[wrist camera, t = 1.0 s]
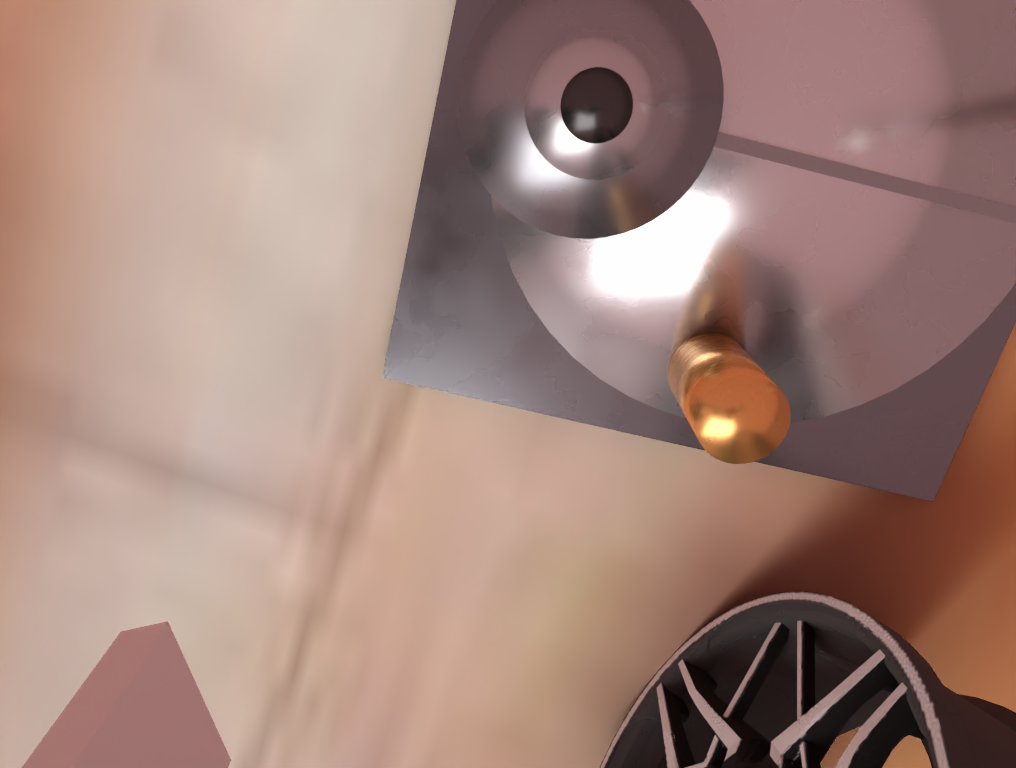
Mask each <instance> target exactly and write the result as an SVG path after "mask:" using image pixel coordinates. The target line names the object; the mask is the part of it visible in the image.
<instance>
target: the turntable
mask: <svg viewBox="0 0 1016 768" xmlns="http://www.w3.org/2000/svg"><path fill="white" fill-rule="evenodd" d="M690 1H691V3H692V4H693V5H694V7H695V8H696V9H697V10H698V12H699V13H700V15H701V16H702V18H703V20H704V21H705V23H706V25H707V27H708V28H709V30H710V33H711V35H712V38H713V40H714V42H715V45H716V48H717V51H718V55H719V59H720V63H721V68H722V76H723V85H724V102H723V111H722V119H721V124H720V128H719V132H718V136H717V139H716V142H715V145H714V147H713V150H712V153H711V155H710V157H709V159H708V161H707V163H706V165H705V167H704V169H703V170H702V172H701V173H700V175H699V176H698V178H697V179H696V181H695V182H694V184H693V185H692V186H691V187H690V189H689V190H688V191H687V192H686V193H685V194H684V195H683V197H682V198H681V199H680V200H679V201H677V202H676V203H675V204H674V205H673V206H672V207H671V208H670V209H668V210H667V211H666V212H664V213H663V214H661V215H660V216H659V217H657V218H656V219H654V220H653V221H651V222H649V223H647V224H645V225H643V226H641V227H639V228H637V229H634V230H631V231H628V232H626V233H623V234H619V235H615V236H610V237H605V238H595V239H577V238H568V237H562V236H557V235H553V234H550V233H547V232H544V231H541V230H539V229H536V228H534V227H532V226H530V225H528V224H526V223H524V222H523V221H521V220H520V219H518V218H516V217H515V216H513V215H512V214H511V213H509V212H508V211H507V210H506V209H505V208H503V207H502V206H501V205H500V204H499V203H498V202H497V201H496V200H495V199H494V198H493V197H492V196H491V201H492V206H493V210H494V214H495V219H496V223H497V227H498V232H499V236H500V240H501V242H502V245H503V248H504V251H505V253H506V256H507V259H508V261H509V264H510V267H511V269H512V272H513V274H514V276H515V278H516V280H517V282H518V284H519V285H520V287H521V289H522V291H523V293H524V295H525V297H526V299H527V300H528V302H529V304H530V306H531V307H532V308H533V310H534V311H535V313H536V314H537V315H538V317H539V318H540V320H541V321H542V322H543V324H544V325H545V327H546V328H547V329H548V331H549V332H550V333H551V334H552V335H553V337H554V338H555V339H556V340H557V341H558V342H559V343H560V344H561V345H562V346H563V347H564V348H565V349H566V350H567V351H568V352H569V353H570V355H571V356H572V357H573V358H575V359H576V360H577V361H578V362H579V363H581V364H582V365H583V366H584V367H586V368H587V369H588V370H589V371H591V372H592V373H593V374H594V375H595V376H597V377H598V378H599V379H601V380H602V381H604V382H606V383H607V384H609V385H611V386H612V387H614V388H615V389H617V390H619V391H620V392H622V393H624V394H625V395H627V396H629V397H631V398H633V399H636V400H638V401H640V402H642V403H645V404H647V405H649V406H651V407H654V408H656V409H658V410H661V411H665V412H668V413H671V414H675V415H678V416H682V417H685V418H687V420H688V422H689V424H690V425H691V427H692V429H693V431H694V433H695V435H696V436H697V438H698V440H699V442H700V444H701V445H702V447H703V448H704V449H705V450H706V451H707V452H708V453H709V454H710V455H711V456H713V457H715V458H716V459H718V460H721V461H724V462H727V463H733V464H744V463H750V462H754V461H757V460H759V459H761V458H764V457H765V456H767V455H769V454H770V453H771V452H773V451H774V450H775V449H776V448H777V447H778V446H779V445H780V443H781V442H782V441H783V439H784V438H785V436H786V434H787V431H788V428H789V425H790V423H795V422H800V421H805V420H810V419H815V418H820V417H825V416H829V415H832V414H835V413H838V412H841V411H844V410H847V409H850V408H853V407H856V406H859V405H862V404H864V403H866V402H869V401H871V400H873V399H875V398H877V397H879V396H882V395H884V394H886V393H888V392H890V391H893V390H895V389H896V388H898V387H900V386H901V385H903V384H905V383H906V382H908V381H910V380H911V379H913V378H915V377H916V376H918V375H920V374H921V373H923V372H925V371H926V370H928V369H929V368H930V367H932V366H933V365H934V364H936V363H937V362H938V361H940V360H941V359H942V358H943V357H945V356H946V355H947V354H949V353H950V352H951V351H953V350H954V349H955V348H957V347H958V346H959V345H960V344H961V343H962V342H963V341H964V340H965V339H966V338H967V337H968V336H969V335H970V334H971V333H972V332H973V331H975V330H976V329H977V328H978V327H979V326H980V325H981V324H982V323H983V322H984V321H985V320H986V319H987V317H988V316H989V315H990V314H991V313H992V312H993V310H994V309H995V308H996V307H997V306H998V305H999V303H1000V302H1001V301H1002V300H1003V299H1004V297H1005V296H1006V295H1007V294H1008V293H1009V291H1010V290H1011V289H1012V287H1013V286H1014V284H1015V283H1016V0H690Z"/></svg>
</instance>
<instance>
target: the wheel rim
mask: <svg viewBox="0 0 1016 768" xmlns="http://www.w3.org/2000/svg"><path fill="white" fill-rule="evenodd" d="M859 726H861V727H860V729H859V730H858V732H857V733H856V735H855V736H854V738H853V739H852V741H851V742H850V744H849V745H848V747H847V748H846V750H845V751H844V753H843V754H842V756H841V757H840V759H839V761H838V763H837V765H836V767H835V768H882V767H883V765H884V763H885V761H886V760H887V758H888V756H889V755H890V753H891V751H892V750H893V749H894V747H895V746H896V745H897V744H898V743H899V742H900V741H901V740H902V739H903V738H904V737H906V736H908V735H911V736H914V737H917V738H920V739H921V740H922V743H923V745H924V747H925V749H926V752H927V754H928V756H929V758H930V762H931V766H932V768H1016V713H1015V712H1013V711H1011V710H1009V709H1007V708H1005V707H1003V706H1000V705H997V704H994V703H991V702H988V701H985V700H983V699H980V698H976V697H971V696H965V695H959V694H956V693H954V692H953V691H951V690H950V689H948V688H946V687H945V686H943V684H942V683H941V681H940V680H939V678H938V677H937V675H936V674H935V672H934V671H933V669H932V667H931V666H930V665H929V664H928V662H927V661H926V660H925V659H924V658H923V657H922V656H921V655H920V654H919V653H918V652H917V651H916V650H915V649H914V648H913V647H912V646H911V645H910V644H909V643H908V642H907V641H906V640H904V639H903V638H902V637H901V636H900V635H899V634H898V633H896V632H894V631H893V630H892V629H890V628H889V627H887V626H885V625H884V624H882V623H881V622H879V621H878V620H876V619H874V618H873V617H871V616H870V615H868V614H867V613H865V612H863V611H862V610H860V609H859V608H857V607H855V606H854V605H852V604H851V603H849V602H846V601H843V600H840V599H837V598H834V597H831V596H828V595H825V594H819V593H811V592H803V591H798V592H782V593H777V594H772V595H766V596H763V597H760V598H757V599H754V600H751V601H748V602H746V603H744V604H741V605H739V606H737V607H735V608H733V609H731V610H729V611H728V612H726V613H724V614H722V615H721V616H719V617H717V618H716V619H714V620H713V621H711V622H710V623H709V624H707V625H706V626H705V627H703V628H702V629H701V630H699V631H698V632H697V633H696V634H694V635H693V636H692V637H691V638H690V639H689V640H688V641H687V642H685V643H684V644H683V645H682V646H681V647H680V648H679V649H678V650H677V651H676V652H675V653H674V654H673V655H672V656H671V657H670V658H669V660H668V661H667V662H666V663H665V664H664V665H663V666H662V667H661V668H660V670H659V671H658V672H657V673H656V675H655V676H654V677H653V678H652V680H651V681H650V682H649V683H648V685H647V686H646V687H645V689H644V690H643V692H642V693H641V695H640V696H639V698H638V699H637V701H636V702H635V704H634V705H633V707H632V708H631V710H630V711H629V713H628V714H627V716H626V717H625V719H624V721H623V723H622V724H621V726H620V728H619V730H618V732H617V733H616V735H615V737H614V739H613V741H612V743H611V745H610V747H609V749H608V751H607V753H606V755H605V757H604V759H603V761H602V763H601V765H600V768H821V766H820V762H821V761H822V759H823V758H824V756H825V754H826V753H827V751H828V750H829V748H830V746H831V745H832V743H833V741H834V740H835V738H836V737H837V736H839V735H841V734H843V733H845V732H848V731H850V730H852V729H854V728H856V727H859Z"/></svg>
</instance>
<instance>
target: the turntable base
mask: <svg viewBox="0 0 1016 768" xmlns="http://www.w3.org/2000/svg"><path fill="white" fill-rule="evenodd" d="M497 1H498V0H456V6H455V11H454V16H453V21H452V26H451V31H450V36H449V41H448V46H447V51H446V56H445V61H444V66H443V72H442V77H441V82H440V87H439V92H438V97H437V102H436V107H435V112H434V117H433V122H432V127H431V132H430V137H429V143H428V148H427V153H426V158H425V163H424V168H423V173H422V178H421V183H420V188H419V193H418V198H417V203H416V209H415V214H414V219H413V224H412V229H411V234H410V239H409V244H408V249H407V254H406V259H405V264H404V269H403V274H402V280H401V285H400V290H399V295H398V300H397V305H396V310H395V315H394V320H393V325H392V330H391V335H390V340H389V346H388V351H387V356H386V361H385V366H384V371H383V376H382V378H385V379H390V380H394V381H399V382H403V383H408V384H412V385H417V386H421V387H425V388H430V389H434V390H439V391H443V392H448V393H452V394H457V395H461V396H465V397H470V398H474V399H479V400H483V401H488V402H492V403H497V404H501V405H505V406H510V407H514V408H519V409H523V410H528V411H532V412H537V413H541V414H545V415H550V416H554V417H559V418H563V419H568V420H572V421H577V422H581V423H586V424H590V425H594V426H599V427H603V428H608V429H612V430H617V431H621V432H626V433H630V434H634V435H639V436H643V437H648V438H652V439H657V440H661V441H666V442H670V443H674V444H679V445H683V446H688V447H692V448H697V449H701V450H705V449H704V448H703V447H702V445H701V444H700V442H699V440H698V438H697V436H696V435H695V433H694V431H693V429H692V427H691V425H690V424H689V422H688V420H687V418H685V417H682V416H678V415H675V414H671V413H668V412H665V411H661V410H658V409H656V408H654V407H651V406H649V405H647V404H645V403H642V402H640V401H638V400H636V399H633V398H631V397H629V396H627V395H625V394H624V393H622V392H620V391H619V390H617V389H615V388H614V387H612V386H611V385H609V384H607V383H606V382H604V381H602V380H601V379H599V378H598V377H597V376H595V375H594V374H593V373H592V372H591V371H589V370H588V369H587V368H586V367H584V366H583V365H582V364H581V363H579V362H578V361H577V360H576V359H575V358H573V357H572V356H571V355H570V353H569V352H568V351H567V350H566V349H565V348H564V347H563V346H562V345H561V344H560V343H559V342H558V341H557V340H556V339H555V338H554V337H553V335H552V334H551V333H550V332H549V331H548V329H547V328H546V327H545V325H544V324H543V322H542V321H541V320H540V318H539V317H538V315H537V314H536V313H535V311H534V310H533V308H532V307H531V306H530V304H529V302H528V300H527V299H526V297H525V295H524V293H523V291H522V289H521V287H520V285H519V284H518V282H517V280H516V278H515V276H514V274H513V272H512V269H511V267H510V264H509V261H508V259H507V256H506V253H505V251H504V248H503V245H502V242H501V240H500V236H499V232H498V227H497V223H496V219H495V214H494V210H493V206H492V201H491V194H490V193H489V192H488V191H487V190H486V188H485V187H484V185H483V184H482V183H481V181H480V180H479V178H478V177H477V175H476V173H475V171H474V169H473V167H472V165H471V163H470V161H469V159H468V156H467V153H466V151H465V148H464V145H463V141H462V137H461V133H460V129H459V121H458V111H457V97H458V85H459V78H460V71H461V68H462V64H463V60H464V57H465V53H466V51H467V49H468V46H469V44H470V41H471V39H472V37H473V35H474V33H475V31H476V29H477V28H478V26H479V24H480V22H481V21H482V19H483V18H484V17H485V15H486V14H487V13H488V11H489V10H490V9H491V7H492V6H493V5H494V4H495V3H496V2H497ZM1015 322H1016V283H1015V284H1014V286H1013V287H1012V289H1011V290H1010V291H1009V293H1008V294H1007V295H1006V296H1005V297H1004V299H1003V300H1002V301H1001V302H1000V303H999V305H998V306H997V307H996V308H995V309H994V310H993V312H992V313H991V314H990V315H989V316H988V317H987V319H986V320H985V321H984V322H983V323H982V324H981V325H980V326H979V327H978V328H977V329H976V330H975V331H973V332H972V333H971V334H970V335H969V336H968V337H967V338H966V339H965V340H964V341H963V342H962V343H961V344H960V345H959V346H958V347H957V348H955V349H954V350H953V351H951V352H950V353H949V354H947V355H946V356H945V357H943V358H942V359H941V360H940V361H938V362H937V363H936V364H934V365H933V366H932V367H930V368H929V369H928V370H926V371H925V372H923V373H921V374H920V375H918V376H916V377H915V378H913V379H911V380H910V381H908V382H906V383H905V384H903V385H901V386H900V387H898V388H896V389H895V390H893V391H890V392H888V393H886V394H884V395H882V396H879V397H877V398H875V399H873V400H871V401H869V402H866V403H864V404H862V405H859V406H856V407H853V408H850V409H847V410H844V411H841V412H838V413H835V414H832V415H829V416H825V417H820V418H815V419H810V420H805V421H800V422H795V423H790V425H789V428H788V431H787V434H786V436H785V438H784V439H783V441H782V442H781V443H780V445H779V446H778V447H777V448H776V449H775V450H774V451H773V452H771V453H770V454H769V455H767V456H765V457H764V458H761V459H759V460H757V461H754V462H759V463H763V464H768V465H772V466H777V467H781V468H786V469H790V470H794V471H799V472H803V473H808V474H812V475H817V476H821V477H826V478H830V479H834V480H839V481H843V482H848V483H852V484H857V485H861V486H866V487H870V488H874V489H879V490H883V491H888V492H892V493H897V494H901V495H906V496H910V497H914V498H919V499H923V500H928V501H932V502H933V501H934V499H935V496H936V494H937V492H938V490H939V488H940V486H941V483H942V481H943V479H944V477H945V475H946V473H947V470H948V468H949V466H950V464H951V462H952V459H953V457H954V455H955V453H956V451H957V449H958V446H959V444H960V442H961V440H962V438H963V436H964V433H965V431H966V429H967V427H968V425H969V422H970V420H971V418H972V416H973V414H974V412H975V409H976V407H977V405H978V403H979V401H980V399H981V396H982V394H983V392H984V390H985V388H986V385H987V383H988V381H989V379H990V377H991V375H992V372H993V370H994V368H995V366H996V364H997V361H998V359H999V357H1000V355H1001V353H1002V351H1003V348H1004V346H1005V344H1006V342H1007V340H1008V338H1009V335H1010V333H1011V331H1012V329H1013V327H1014V324H1015Z"/></svg>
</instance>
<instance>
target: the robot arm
mask: <svg viewBox="0 0 1016 768" xmlns="http://www.w3.org/2000/svg"><path fill="white" fill-rule="evenodd" d="M230 761H231V759H230V757H229V755H228V753H227V750H226V748H225V746H224V744H223V742H222V739H221V737H220V735H219V733H218V731H217V728H216V726H215V724H214V722H213V720H212V717H211V715H210V713H209V711H208V709H207V707H206V704H205V702H204V700H203V698H202V696H201V693H200V691H199V689H198V687H197V685H196V682H195V680H194V678H193V676H192V674H191V671H190V669H189V667H188V665H187V663H186V661H185V658H184V656H183V654H182V652H181V650H180V647H179V645H178V643H177V641H176V639H175V636H174V634H173V632H172V630H171V628H170V625H169V623H168V622H163V623H159V624H154V625H150V626H145V627H140V628H136V629H131V630H127V631H122V632H120V634H119V635H118V637H117V638H116V639H115V641H114V642H113V643H112V645H111V646H110V647H109V649H108V650H107V652H106V653H105V654H104V656H103V657H102V658H101V660H100V661H99V663H98V664H97V665H96V667H95V668H94V669H93V671H92V672H91V674H90V675H89V676H88V678H87V679H86V680H85V682H84V683H83V685H82V686H81V687H80V689H79V690H78V691H77V693H76V694H75V695H74V697H73V698H72V700H71V701H70V702H69V704H68V705H67V706H66V708H65V709H64V711H63V712H62V713H61V715H60V716H59V717H58V719H57V720H56V722H55V723H54V724H53V726H52V727H51V728H50V730H49V731H48V732H47V734H46V735H45V737H44V738H43V739H42V741H41V742H40V743H39V745H38V746H37V748H36V749H35V750H34V752H33V753H32V754H31V756H30V757H29V759H28V760H27V761H26V763H25V764H24V765H23V767H22V768H228V766H229V763H230Z"/></svg>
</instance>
